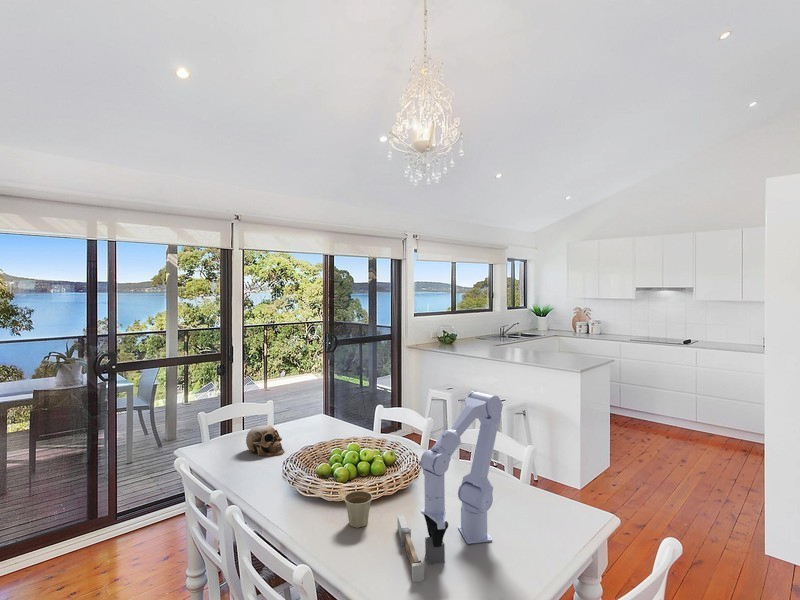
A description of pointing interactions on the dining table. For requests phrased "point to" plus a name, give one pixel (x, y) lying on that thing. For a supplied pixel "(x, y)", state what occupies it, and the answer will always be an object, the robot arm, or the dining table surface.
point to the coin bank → (264, 441)
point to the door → (411, 550)
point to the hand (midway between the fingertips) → (435, 541)
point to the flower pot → (358, 507)
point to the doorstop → (434, 551)
